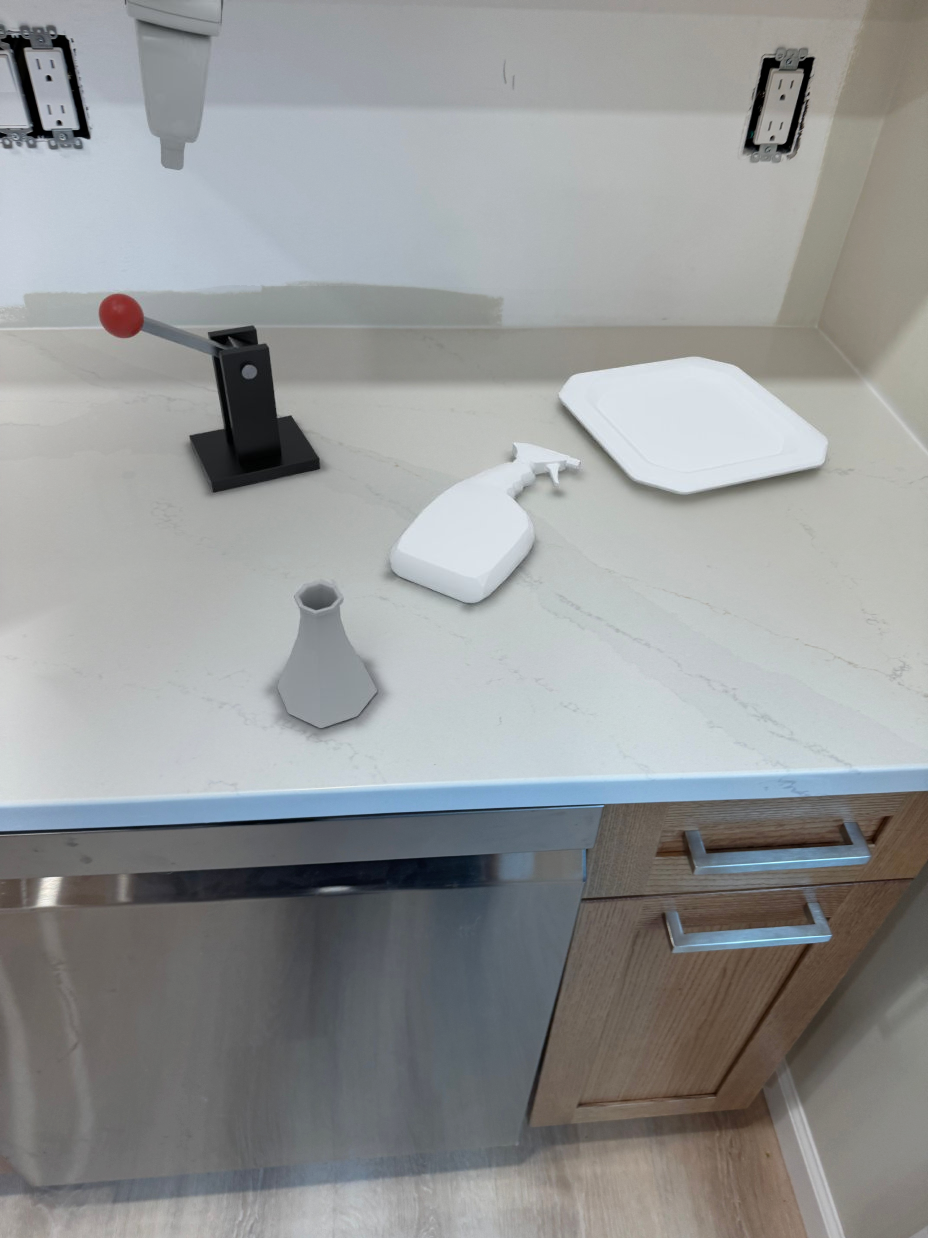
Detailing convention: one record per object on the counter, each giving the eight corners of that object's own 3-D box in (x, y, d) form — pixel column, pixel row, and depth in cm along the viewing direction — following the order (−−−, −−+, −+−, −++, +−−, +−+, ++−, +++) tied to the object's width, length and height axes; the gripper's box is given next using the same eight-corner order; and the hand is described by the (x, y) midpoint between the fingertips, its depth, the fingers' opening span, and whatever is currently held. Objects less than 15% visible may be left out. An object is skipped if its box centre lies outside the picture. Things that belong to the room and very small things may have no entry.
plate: (648, 515, 81) (652, 497, 80) (541, 394, 98) (543, 377, 96) (845, 473, 89) (853, 455, 87) (715, 367, 105) (719, 350, 103)
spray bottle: (378, 571, 73) (498, 447, 89) (486, 615, 70) (592, 478, 86) (377, 545, 71) (501, 423, 87) (489, 589, 68) (596, 454, 84)
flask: (335, 643, 67) (328, 547, 60) (394, 693, 63) (393, 599, 56) (260, 688, 63) (243, 592, 56) (318, 745, 59) (307, 650, 52)
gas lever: (96, 336, 69) (110, 296, 67) (89, 318, 71) (102, 279, 69) (252, 387, 78) (267, 353, 76) (241, 370, 80) (255, 337, 79)
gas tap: (213, 492, 80) (189, 371, 71) (191, 445, 86) (166, 328, 77) (320, 468, 84) (310, 351, 75) (292, 425, 90) (280, 310, 81)
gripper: (127, -121, 65) (133, 64, 76) (125, 1, 55) (132, 195, 66) (210, -98, 68) (203, 79, 79) (222, 24, 58) (213, 207, 69)
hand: (171, 133), depth 72 cm, fingers open, 8 cm apart
